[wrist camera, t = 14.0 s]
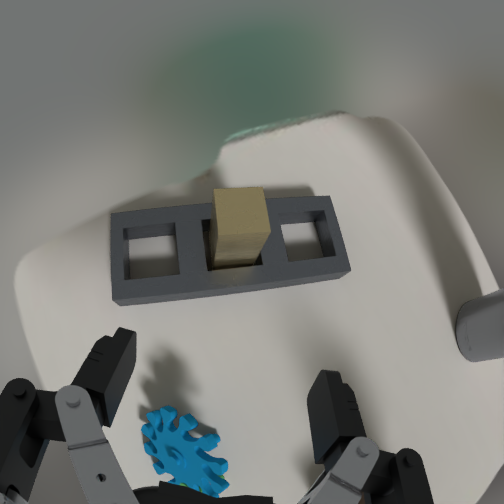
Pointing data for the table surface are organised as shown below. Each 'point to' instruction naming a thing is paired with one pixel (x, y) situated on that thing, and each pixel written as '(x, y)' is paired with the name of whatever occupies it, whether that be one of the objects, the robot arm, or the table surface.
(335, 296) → the table surface
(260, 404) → the table surface
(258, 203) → the brass post
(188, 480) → the gear
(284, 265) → the grey flat frame block
